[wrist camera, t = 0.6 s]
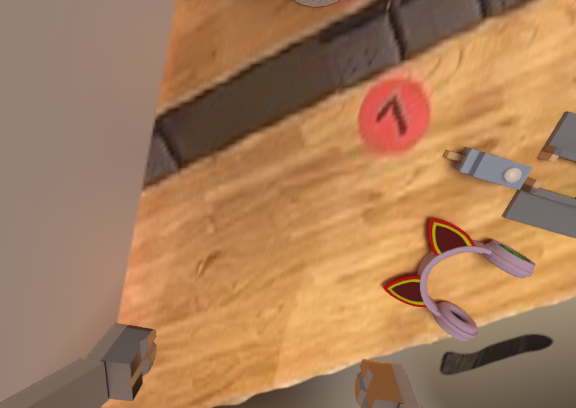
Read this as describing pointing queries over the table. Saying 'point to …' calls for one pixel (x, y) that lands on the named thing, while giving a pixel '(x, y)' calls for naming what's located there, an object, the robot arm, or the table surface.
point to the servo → (490, 167)
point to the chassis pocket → (543, 203)
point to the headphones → (444, 245)
